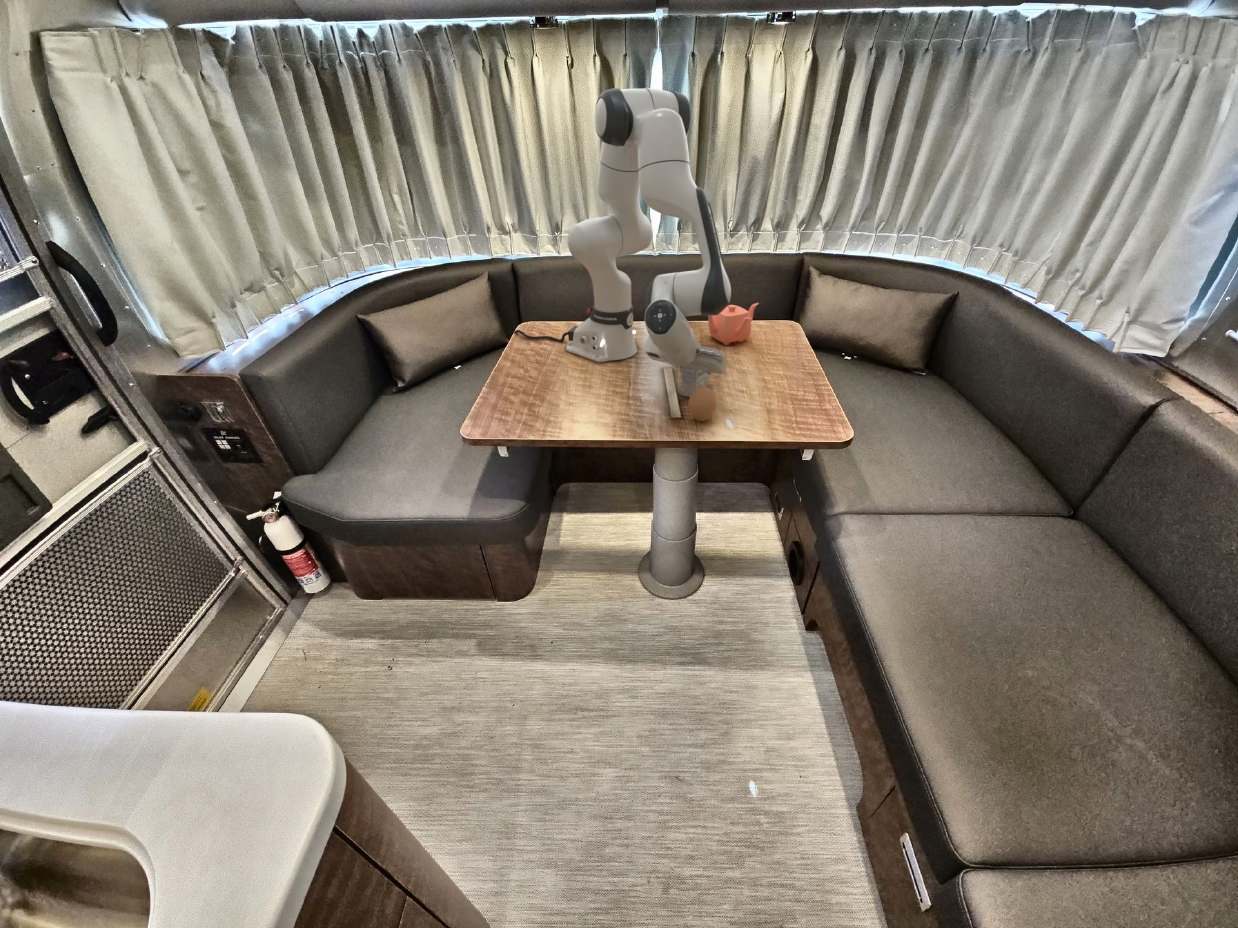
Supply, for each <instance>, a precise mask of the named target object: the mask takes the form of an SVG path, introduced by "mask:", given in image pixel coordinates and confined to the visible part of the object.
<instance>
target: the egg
mask: <svg viewBox="0 0 1238 928" xmlns="http://www.w3.org/2000/svg"><path fill="white" fill-rule="evenodd" d="M687 405H688V406H687V407H688V411H689V414H690V416H691V417H692V418H693V419H694V420H696V421H699V422H705V421H708V420H709V419H710V418H712V417H713V415H714V414H715V412H716V409H717V399H716V395H715V393H714V391H713V390H712V388H710V387H709V386H708V387H707V386H699V387H697V388H696V389H695V390H694V391H693V392H692V394H691V396H690V397H688V404H687Z"/></svg>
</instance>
